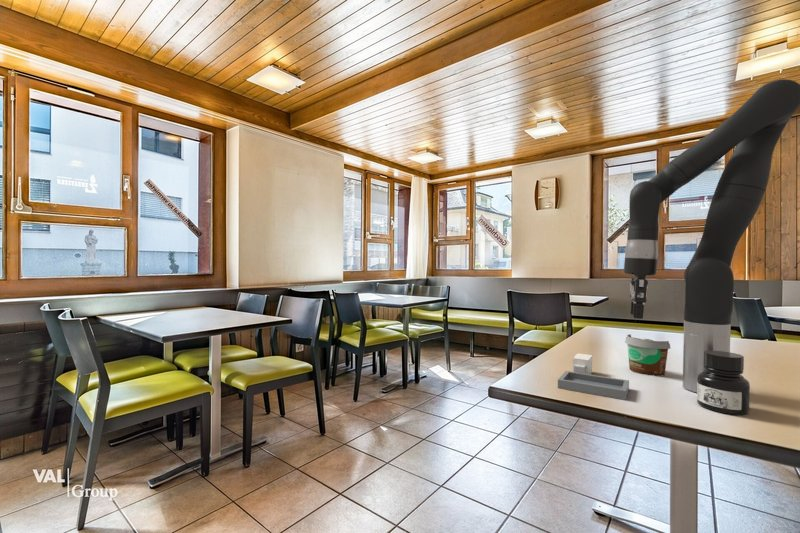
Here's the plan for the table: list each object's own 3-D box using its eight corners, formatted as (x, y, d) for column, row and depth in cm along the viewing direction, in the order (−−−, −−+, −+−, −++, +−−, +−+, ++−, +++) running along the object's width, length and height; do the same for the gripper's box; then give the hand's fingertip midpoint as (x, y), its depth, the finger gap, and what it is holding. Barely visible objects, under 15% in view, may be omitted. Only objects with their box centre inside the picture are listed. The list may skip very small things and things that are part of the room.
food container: (615, 368, 118) (615, 335, 118) (628, 365, 121) (628, 333, 121) (656, 379, 107) (657, 343, 107) (670, 376, 110) (670, 341, 110)
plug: (592, 372, 114) (592, 355, 114) (586, 380, 106) (587, 361, 106) (577, 370, 116) (577, 353, 116) (571, 377, 108) (571, 359, 108)
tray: (628, 388, 98) (629, 380, 98) (625, 400, 90) (626, 391, 90) (565, 378, 107) (565, 370, 107) (557, 387, 99) (557, 379, 99)
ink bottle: (686, 403, 89) (687, 350, 88) (709, 398, 92) (710, 347, 92) (737, 419, 80) (738, 361, 80) (760, 413, 83) (761, 357, 83)
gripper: (661, 257, 97) (656, 321, 98) (653, 258, 110) (649, 315, 111) (626, 255, 101) (622, 318, 101) (623, 256, 113) (619, 312, 114)
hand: (636, 316), depth 106 cm, fingers open, 8 cm apart
